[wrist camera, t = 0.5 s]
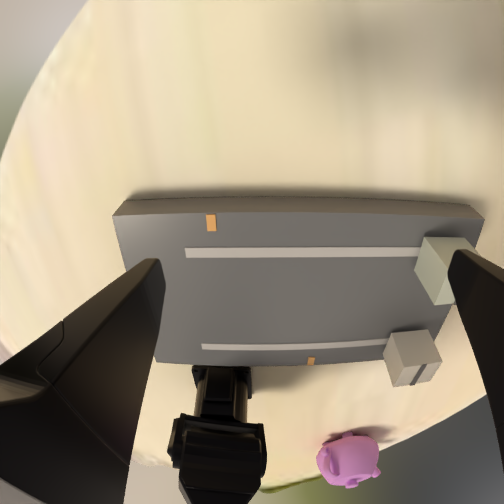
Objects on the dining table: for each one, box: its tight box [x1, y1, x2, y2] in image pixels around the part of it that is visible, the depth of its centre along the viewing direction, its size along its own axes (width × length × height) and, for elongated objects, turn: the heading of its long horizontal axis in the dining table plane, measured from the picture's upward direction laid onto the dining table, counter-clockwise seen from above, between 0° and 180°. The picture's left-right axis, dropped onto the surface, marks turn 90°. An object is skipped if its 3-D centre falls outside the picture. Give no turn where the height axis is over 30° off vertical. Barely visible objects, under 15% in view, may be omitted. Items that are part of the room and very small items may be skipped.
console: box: [112, 197, 485, 366], centre depth 25 cm, size 16×28×3 cm, turn 91°
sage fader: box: [414, 237, 480, 305], centre depth 20 cm, size 3×4×4 cm
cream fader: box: [383, 329, 442, 387], centre depth 25 cm, size 3×4×4 cm
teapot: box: [316, 432, 381, 488], centre depth 43 cm, size 10×15×9 cm
